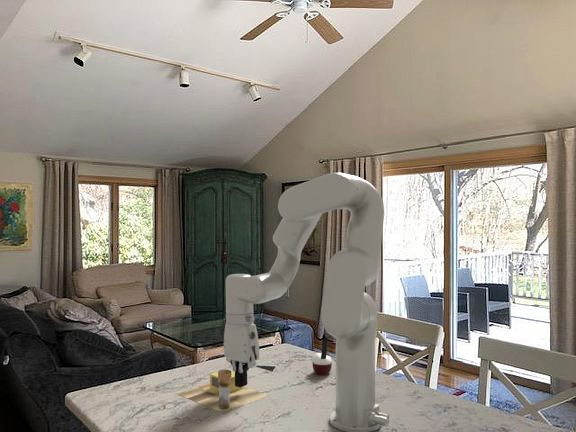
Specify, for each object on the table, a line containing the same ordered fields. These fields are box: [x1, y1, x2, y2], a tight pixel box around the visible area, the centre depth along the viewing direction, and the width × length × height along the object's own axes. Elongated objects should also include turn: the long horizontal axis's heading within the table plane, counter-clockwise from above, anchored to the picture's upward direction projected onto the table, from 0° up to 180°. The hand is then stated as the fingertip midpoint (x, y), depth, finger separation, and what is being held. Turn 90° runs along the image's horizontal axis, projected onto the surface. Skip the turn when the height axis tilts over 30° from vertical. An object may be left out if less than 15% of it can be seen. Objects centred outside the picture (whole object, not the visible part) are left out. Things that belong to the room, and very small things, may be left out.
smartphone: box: [255, 363, 278, 373], centre depth 150 cm, size 7×15×1 cm, turn 169°
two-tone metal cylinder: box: [217, 369, 232, 409], centre depth 119 cm, size 3×3×9 cm
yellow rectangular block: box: [209, 369, 242, 393], centre depth 133 cm, size 7×6×4 cm
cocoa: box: [311, 338, 333, 376], centre depth 149 cm, size 10×6×12 cm, turn 168°
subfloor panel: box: [176, 382, 269, 414], centre depth 128 cm, size 20×16×1 cm
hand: (241, 385), depth 128 cm, fingers closed
